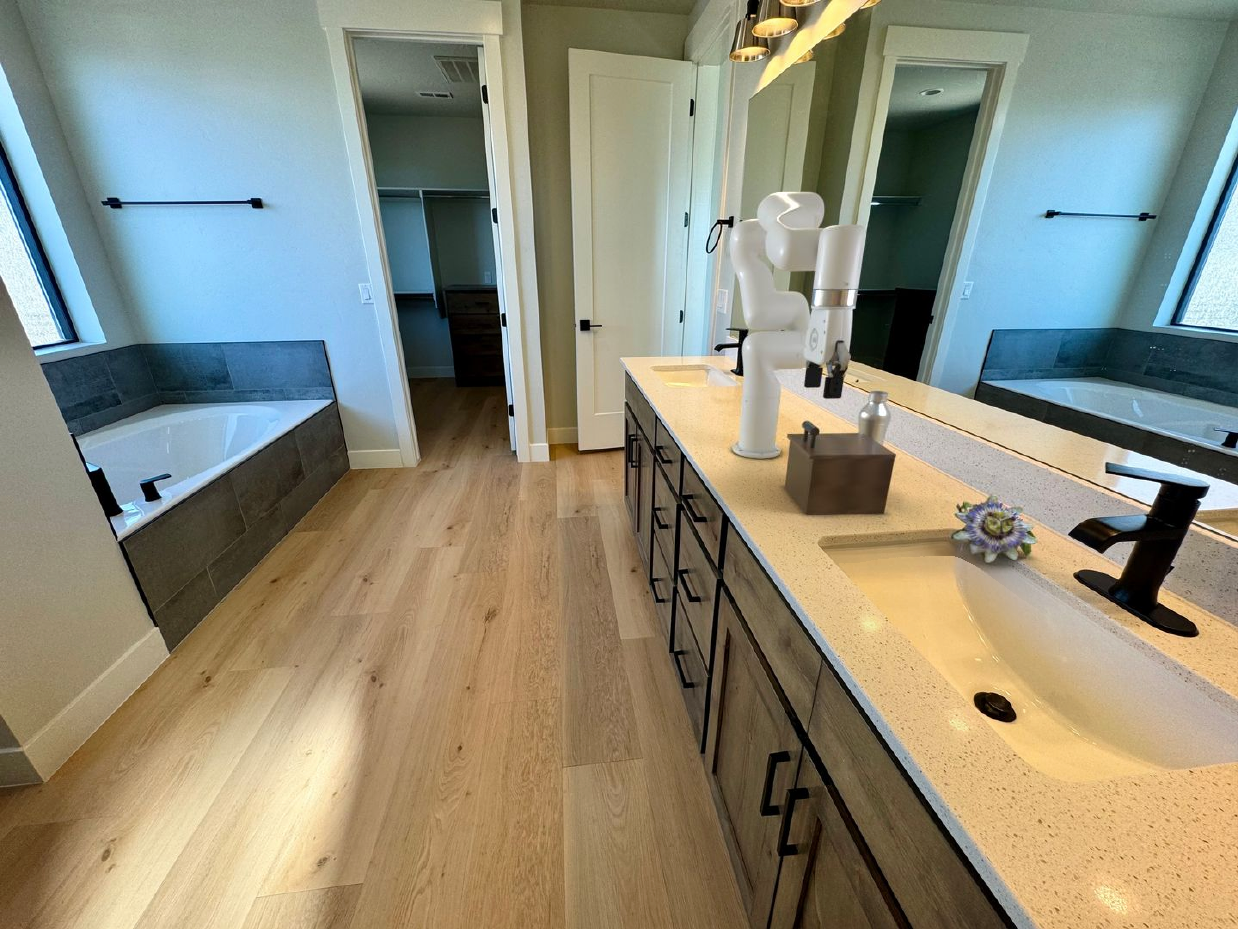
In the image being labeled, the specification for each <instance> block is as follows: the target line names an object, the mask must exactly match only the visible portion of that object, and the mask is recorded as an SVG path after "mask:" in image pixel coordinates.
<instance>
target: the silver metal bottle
mask: <svg viewBox="0 0 1238 929" xmlns="http://www.w3.org/2000/svg"><path fill="white" fill-rule="evenodd" d="M888 396H889V392H887V391H883V390H870V391H869V395H868V397H867V401H868V402H867V403H866V404H865V405H864V406H863V407H862V408H861V409H860V411H859V412H858V420H857V421H858V422H857V424H858V428H857V433H864V434H865V435H867V436H869V437H870V438H872V439H873V440H875V441H876V442H878V443H879V444H881V445H882V446H884V442H885V438H886V434H887V430H888V428H889V425H890V422H891V418H892V415H891V412H890V409H889V407H888V406H887V404H886V403H887V402H888Z"/></svg>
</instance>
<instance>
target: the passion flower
mask: <svg viewBox="0 0 1238 929" xmlns="http://www.w3.org/2000/svg"><path fill="white" fill-rule="evenodd" d="M1003 506H1004V502H1000V501H999V498H998V496H997V495H996V494H994V493H991V495H989V496H988V497H987V498H986V500H985V501H984V502H980V503H979V504H977V503H975V504H972V503H970V502H968V501H963V502H962V505H960V503H958V502H957V504H956V505H955V507H956V509H957V511H958V512H957V513H954V516H955V518H957V519H958V520H959V521H960V522H961V523H963V524H965V525H964V526H963V527H962V528H961V529H957V530H956V531H953V532H952V533H951V534H950V538H951V539H952V540H956V541H964V540H967V541H968V552H969V554H970V556H974V555H975V556H976V555H977V554H978V555H980V556H982V558H983V561H984V563H985V564H991V563H993V562H994V561H995V560H996V559H997V557H998V555H999V554H1004V555H1005V556H1006V557H1007V558H1008V559H1010V560H1012V561H1016V560H1017V559H1018V557H1019V551H1018V550H1019V549H1018V548H1020V549H1021V551H1022V553H1023V555H1024V557H1025V558H1026V557H1028V556H1029V555H1030V554H1031V553H1032V545H1035V544H1037V543H1038V539H1037V538H1036V536H1035V534H1034V533H1033V532H1032V530H1033V529H1034V528H1035V525H1034V524H1033V523H1031V522H1028V521H1023V520H1024V519H1023V518H1021V517H1022V515H1021V514H1022V513H1023V511H1024V507H1023V506H1021V505H1019V506H1013V507H1012V506H1011V507H1009V508H1008V507H1003ZM968 508H969V509H968ZM963 510H964V511H963ZM1019 516H1020V517H1019Z"/></svg>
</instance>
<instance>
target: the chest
mask: <svg viewBox="0 0 1238 929" xmlns="http://www.w3.org/2000/svg"><path fill="white" fill-rule="evenodd" d="M895 461H896V457H895V458H868V459H809V458H808V457H807V456H806V455H804V454H803V453H802V452H801V451H800V450H799V449H798V448H797V447H796V446H795V445H794V444H793V443H792V442H791V441H790V440H789V447H788V456H787V462H786V463H787V464H786V473H785V479H784V480H785V481H784V488H785V489H786V491H787V492H788V493H789V495H790V496H791V497H792V499H793V500H794V501H795V503H796V504H797V505H798V506H799V508H800V509H801V510H802V512H803V513H804V515H809V516H811V515H812V516H813V515H883V514H885V512H886V511H885V510H886V505H887V502H888V495H889V492H890V486H891V480H892V476H893V471H894V467H895Z"/></svg>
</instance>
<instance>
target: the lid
mask: <svg viewBox="0 0 1238 929" xmlns="http://www.w3.org/2000/svg"><path fill="white" fill-rule="evenodd" d="M801 427H802V429H804V430H803V433H787V434H786V438H787V439H788V440H789V442H790V441H791V442H792V443H793V444H794V445H795V446H796V447H797V448H798V449H799V450H800V451H801V452H802V453H803V454H804V455H806V456H807V457H808V458H809V459H868V458H895V459H896V456H897V454H896V453H895V452H893V451H892V450H890V449H889V448H887V447H886V446H884V445H883V446H882V445H881V444H879V443H878V442H876V441H875V440H873V439H872V438H870V437H869V436H867V435H865V434H864V433H858V432H835V433H833V432H831V433H830V432H829V433H827V432H826V433H822V432H820V431H821V430H820V429H819V428H818V427H817V426H816V425H815V424H814V423H812V421H810V420H804V421H803V422H802V424H801Z"/></svg>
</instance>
